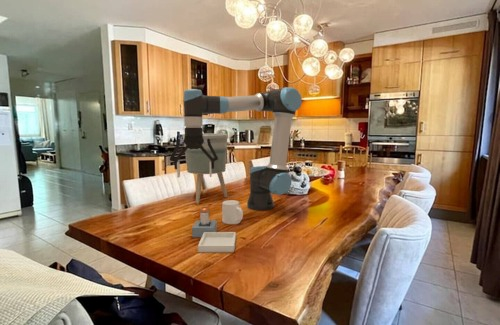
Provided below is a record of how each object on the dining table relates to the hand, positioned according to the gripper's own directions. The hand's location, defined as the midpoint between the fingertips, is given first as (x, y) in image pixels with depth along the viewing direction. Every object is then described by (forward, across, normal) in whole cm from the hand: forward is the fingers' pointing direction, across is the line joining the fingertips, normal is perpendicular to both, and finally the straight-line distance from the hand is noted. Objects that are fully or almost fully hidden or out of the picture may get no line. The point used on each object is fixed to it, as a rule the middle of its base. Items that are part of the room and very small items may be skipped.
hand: (194, 176), depth 119 cm
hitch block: (+24, -4, +5) cm, 25 cm away
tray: (+24, -10, +17) cm, 31 cm away
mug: (+24, -17, -7) cm, 30 cm away
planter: (+24, -3, -51) cm, 57 cm away
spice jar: (+24, -4, +5) cm, 25 cm away
